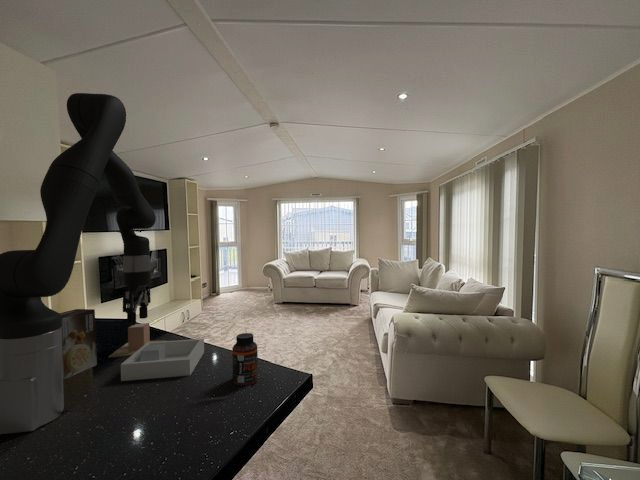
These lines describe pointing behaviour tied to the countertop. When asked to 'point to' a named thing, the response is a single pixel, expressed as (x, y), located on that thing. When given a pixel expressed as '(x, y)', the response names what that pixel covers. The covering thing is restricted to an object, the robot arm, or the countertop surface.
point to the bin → (164, 361)
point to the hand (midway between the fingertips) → (137, 321)
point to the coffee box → (78, 341)
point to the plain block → (153, 353)
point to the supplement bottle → (245, 360)
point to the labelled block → (138, 336)
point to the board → (126, 351)
